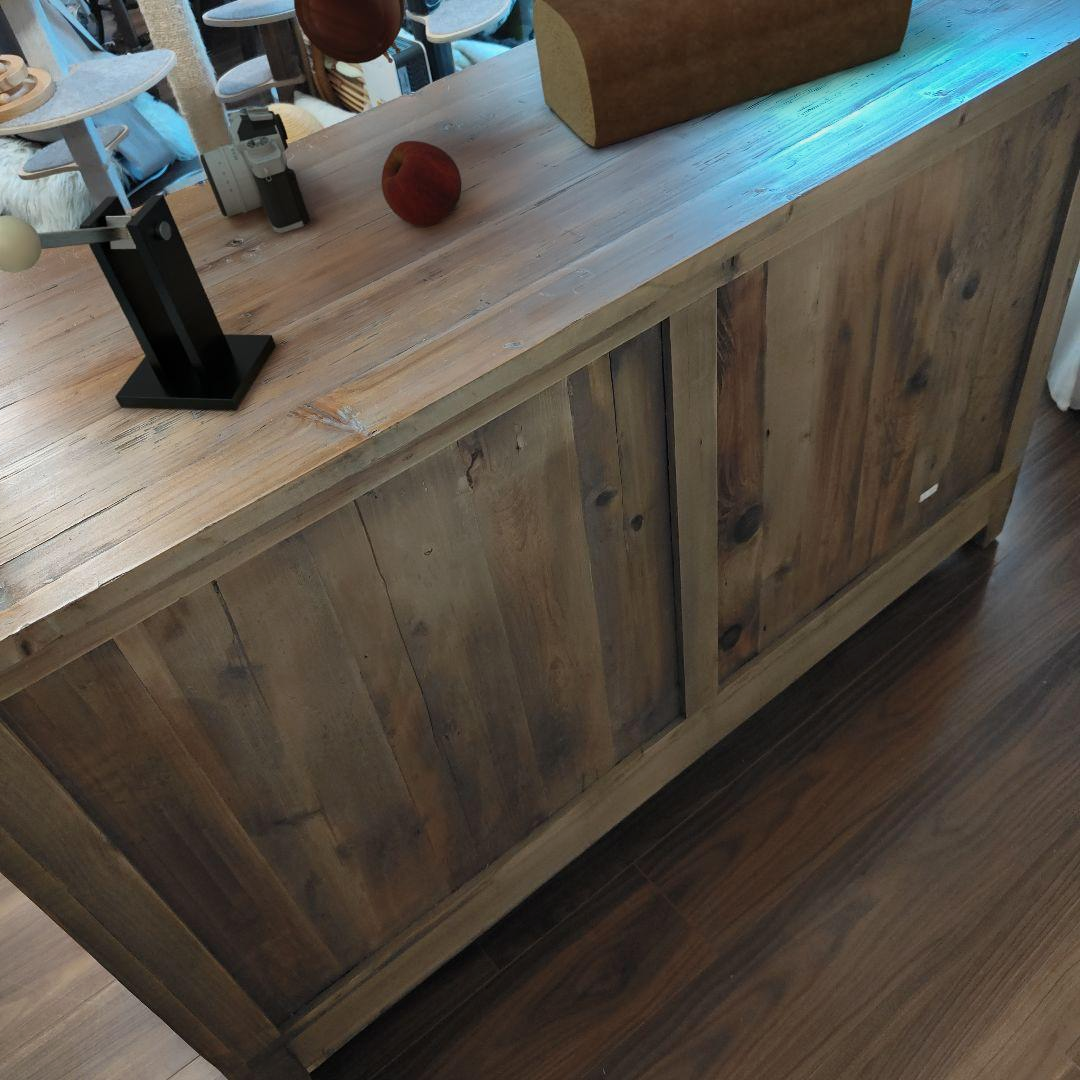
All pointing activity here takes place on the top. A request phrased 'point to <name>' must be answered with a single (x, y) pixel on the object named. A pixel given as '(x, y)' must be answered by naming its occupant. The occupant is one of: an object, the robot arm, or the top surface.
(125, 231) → the lever
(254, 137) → the camera
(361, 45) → the alarm clock
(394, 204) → the apple
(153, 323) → the lever bracket
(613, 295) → the top surface
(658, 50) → the bread
